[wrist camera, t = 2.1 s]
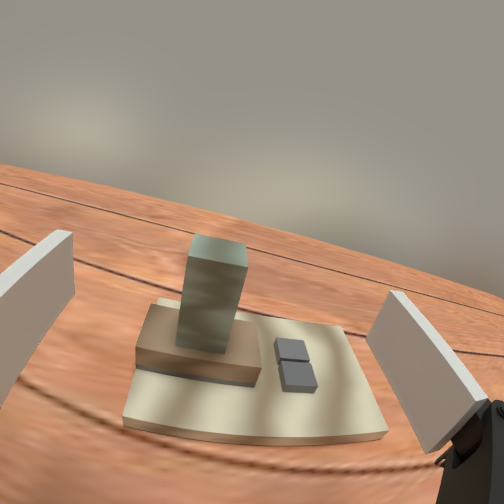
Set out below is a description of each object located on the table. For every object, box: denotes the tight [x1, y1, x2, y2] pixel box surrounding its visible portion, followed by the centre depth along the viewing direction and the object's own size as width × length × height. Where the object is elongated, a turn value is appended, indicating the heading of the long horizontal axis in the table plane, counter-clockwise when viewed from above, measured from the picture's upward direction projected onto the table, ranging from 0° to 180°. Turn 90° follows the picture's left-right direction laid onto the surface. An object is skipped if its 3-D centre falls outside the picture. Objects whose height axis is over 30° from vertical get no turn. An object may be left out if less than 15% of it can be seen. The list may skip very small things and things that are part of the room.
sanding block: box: [136, 234, 262, 388], centre depth 23 cm, size 10×6×11 cm, turn 94°
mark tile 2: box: [273, 337, 310, 365], centre depth 28 cm, size 3×3×1 cm
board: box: [122, 297, 389, 446], centre depth 27 cm, size 22×16×2 cm
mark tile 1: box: [278, 361, 318, 393], centre depth 25 cm, size 3×3×1 cm
